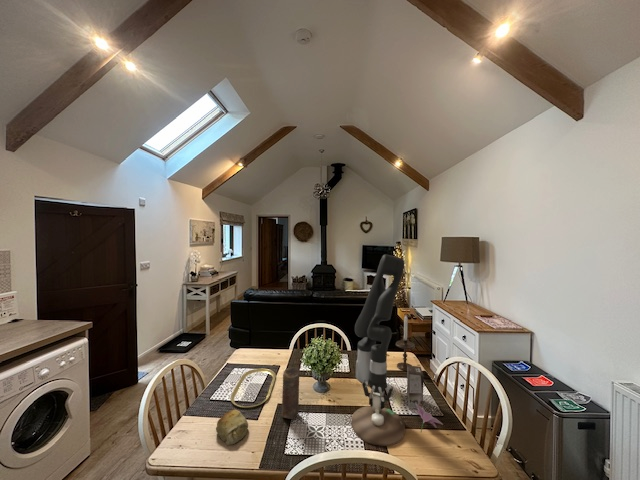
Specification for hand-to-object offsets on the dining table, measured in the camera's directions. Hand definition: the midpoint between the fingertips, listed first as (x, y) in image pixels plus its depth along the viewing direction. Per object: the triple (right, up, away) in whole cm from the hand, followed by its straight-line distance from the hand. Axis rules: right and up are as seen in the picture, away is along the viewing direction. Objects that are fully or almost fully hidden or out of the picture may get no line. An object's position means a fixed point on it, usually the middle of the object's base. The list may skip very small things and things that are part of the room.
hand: (376, 406), depth 126 cm
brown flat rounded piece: (-1, -4, -8) cm, 8 cm away
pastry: (-61, -3, -12) cm, 62 cm away
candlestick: (+25, -2, +43) cm, 50 cm away
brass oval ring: (-59, -2, +20) cm, 63 cm away
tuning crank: (-1, -2, -4) cm, 4 cm away
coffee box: (+20, -3, +8) cm, 22 cm away
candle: (-39, -3, -2) cm, 39 cm away
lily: (+19, -4, -8) cm, 21 cm away
